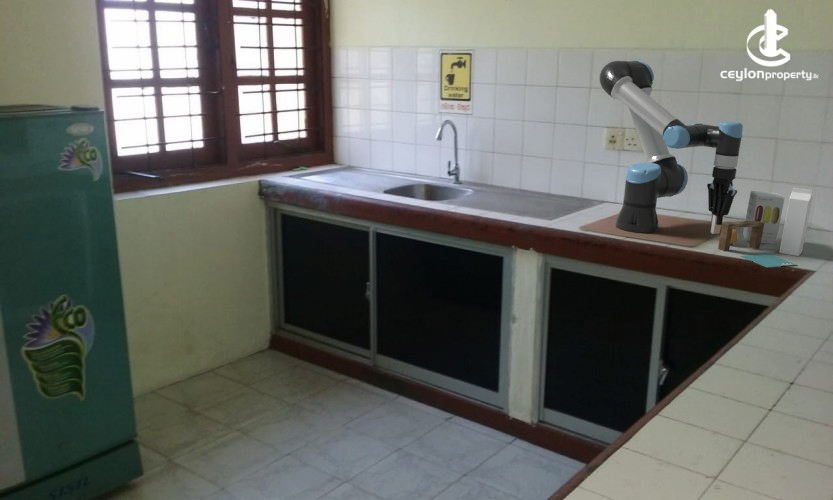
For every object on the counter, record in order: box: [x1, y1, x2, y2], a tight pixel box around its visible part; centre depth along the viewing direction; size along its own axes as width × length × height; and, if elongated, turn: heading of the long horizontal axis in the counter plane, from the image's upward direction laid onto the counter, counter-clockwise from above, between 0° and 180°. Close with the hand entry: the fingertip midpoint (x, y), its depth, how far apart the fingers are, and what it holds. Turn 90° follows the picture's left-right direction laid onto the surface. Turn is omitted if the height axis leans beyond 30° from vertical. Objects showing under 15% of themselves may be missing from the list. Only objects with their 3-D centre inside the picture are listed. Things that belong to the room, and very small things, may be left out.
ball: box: [730, 228, 738, 245], centre depth 258 cm, size 6×6×6 cm
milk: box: [778, 187, 813, 257], centre depth 248 cm, size 6×6×22 cm
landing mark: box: [740, 253, 797, 268], centre depth 241 cm, size 12×12×1 cm
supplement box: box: [742, 190, 785, 245], centre depth 264 cm, size 10×9×17 cm
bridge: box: [717, 220, 764, 252], centre depth 252 cm, size 14×3×9 cm, turn 107°
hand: (715, 232), depth 265 cm, fingers closed
